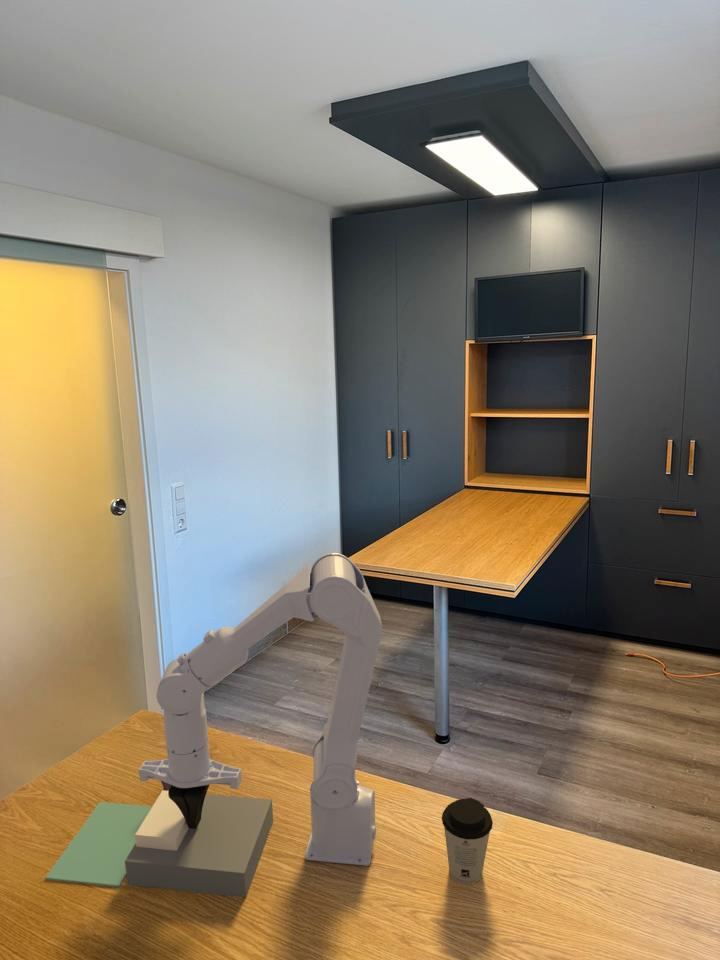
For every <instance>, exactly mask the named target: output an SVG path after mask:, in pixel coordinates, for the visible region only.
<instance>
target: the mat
mask: <svg viewBox="0 0 720 960" xmlns="http://www.w3.org/2000/svg"><path fill="white" fill-rule="evenodd" d="M152 807H153V805H139V804H126V803H118V802H117V803H116V802H105V801H103V802H102V801H99V803H98V804H97V805H96V807H95V808H94V810H93V811H92V812H91V814H90V815H89V817H87V819H86V821H85V822H84V823H83V825H82V826H81V828H80V829H79V830H78V831H77V833H76V834H75V836H74V837H73V839H72V840H71V841H70V843H69V844H68V846H67V847H66V848H65V849H64V851H63V852H62V854H61V855H60V856H59V858H58V859H57V861H56V862H55V863H54V865H53V866H52V868H51V869H50V870H49V872H48V873H47V874H46V876H45V877H44V879H45V880H50V881H58V882H67V883H76V884H86V885H95V886H106V887H114V888H120V887H121V885H122V883H123V882H124V879H125V878H126V877H127V875H126V867H125V860H126V858H127V856H128V855H129V853H130V851H131V850H132V848H133V846H134V845H135V843H136V838H135V834H136V832H137V831H138V829H139V828H140V826H141V824H142V823H143V821H144V819H145V818H146V816H147V815H148V813H149V811H150V810H151V808H152Z"/></svg>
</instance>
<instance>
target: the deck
mask: <svg viewBox="0 0 720 960" xmlns="http://www.w3.org/2000/svg"><path fill="white" fill-rule="evenodd" d="M167 791H168V790H167ZM273 812H274V811H273V799H271V798H260V797H259V798H258V797H249V796H237V795H235V796H234V795H227V794H226V795H224V794H216V793H215V794H211V793H206V796H205V799H204V803H203V808H202V814H201V820H200V822H199V824H198V826H197V828H196V829H192V828H189V829H188V830H187V832H186V834H185V836H184V838H183V840H182V842H181V844H180V846H179V848H178V850H177V851H175V850H165V849H155V848H145V847H136V843H135V845H134V846H133V848H132V850H131V851H130V853H129V855H128V856H127V858H126V860H125V867H126V882H127V886H135V887H142V888H143V887H144V888H151V889H152V888H153V889H162V890H170V891H180V892H181V891H182V892H189V893H191V892H192V893H198V894H199V893H200V894H211V895H219V896H227V897H228V896H229V897H237V898H238V897H239V898H247V896H248V894H249V890H250V887H251V884H252V881H253V879H254V876H255V873H256V871H257V868H258V865H259V862H260V860H261V857H262V854H263V851H264V848H265V845H266V843H267V839H268V837H269V835H270V831H271V828H272V826H273V823H274V813H273Z"/></svg>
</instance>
